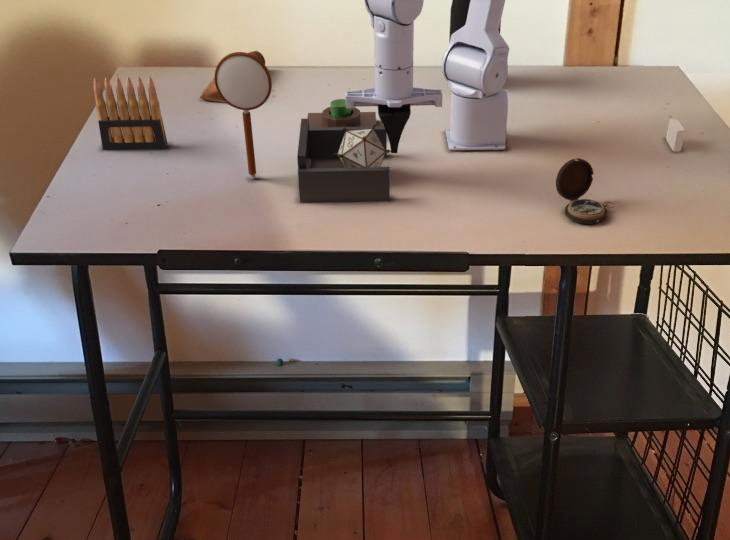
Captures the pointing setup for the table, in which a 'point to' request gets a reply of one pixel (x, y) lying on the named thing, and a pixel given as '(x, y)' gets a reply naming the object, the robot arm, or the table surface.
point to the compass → (579, 192)
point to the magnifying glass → (244, 91)
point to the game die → (361, 148)
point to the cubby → (337, 169)
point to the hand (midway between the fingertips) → (393, 150)
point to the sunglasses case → (210, 90)
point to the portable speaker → (460, 16)
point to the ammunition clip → (129, 117)
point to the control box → (342, 119)
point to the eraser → (675, 135)
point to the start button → (340, 108)
